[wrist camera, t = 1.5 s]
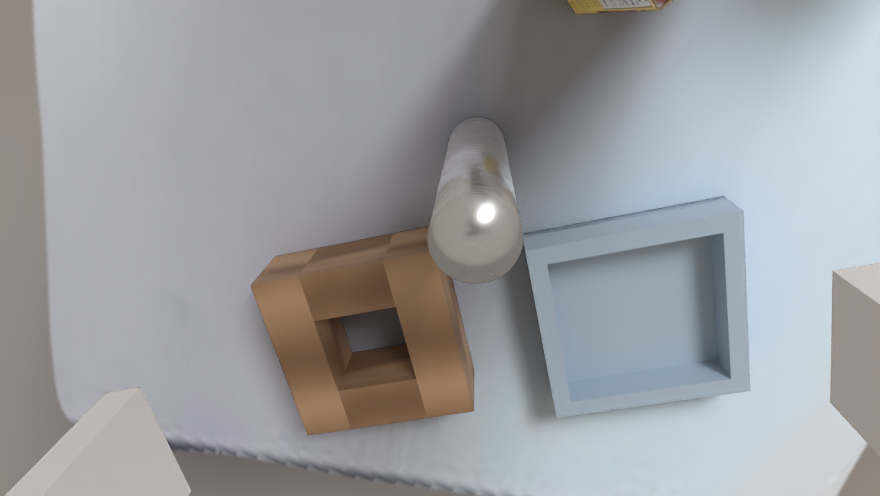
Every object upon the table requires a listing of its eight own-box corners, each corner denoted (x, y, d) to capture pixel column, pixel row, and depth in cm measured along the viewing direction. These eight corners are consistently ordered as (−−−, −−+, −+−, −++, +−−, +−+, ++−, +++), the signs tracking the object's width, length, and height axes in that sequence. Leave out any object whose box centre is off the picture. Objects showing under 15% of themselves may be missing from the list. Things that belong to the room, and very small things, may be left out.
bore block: (275, 256, 34) (250, 285, 31) (438, 224, 33) (433, 251, 29) (324, 394, 38) (307, 435, 34) (474, 370, 36) (473, 411, 33)
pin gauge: (443, 123, 31) (417, 204, 18) (499, 111, 30) (513, 185, 17) (455, 177, 32) (438, 290, 19) (509, 166, 31) (530, 274, 18)
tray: (522, 234, 33) (525, 250, 30) (723, 196, 31) (743, 210, 29) (551, 392, 37) (556, 418, 34) (732, 366, 35) (750, 390, 33)
